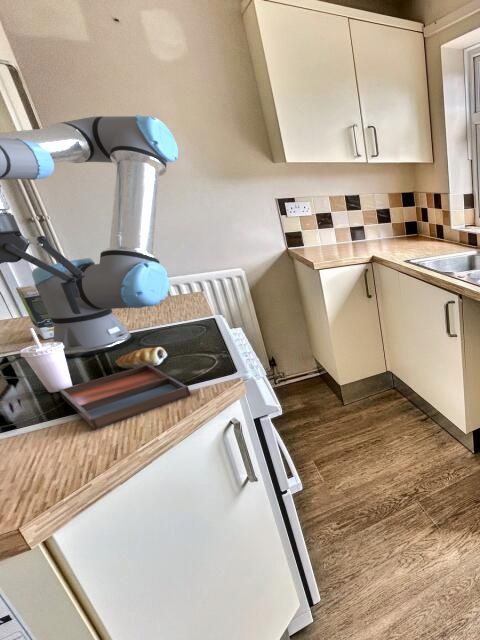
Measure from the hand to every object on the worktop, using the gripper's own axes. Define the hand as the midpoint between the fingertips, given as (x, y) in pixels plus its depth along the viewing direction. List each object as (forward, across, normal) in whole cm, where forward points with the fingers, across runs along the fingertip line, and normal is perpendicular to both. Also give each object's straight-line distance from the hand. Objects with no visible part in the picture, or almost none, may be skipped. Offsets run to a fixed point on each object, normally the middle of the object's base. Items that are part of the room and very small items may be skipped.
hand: (31, 321), depth 86 cm
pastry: (+15, +15, 0) cm, 21 cm away
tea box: (+15, +13, +53) cm, 57 cm away
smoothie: (+15, 0, 0) cm, 15 cm away
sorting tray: (+15, +6, -18) cm, 24 cm away
